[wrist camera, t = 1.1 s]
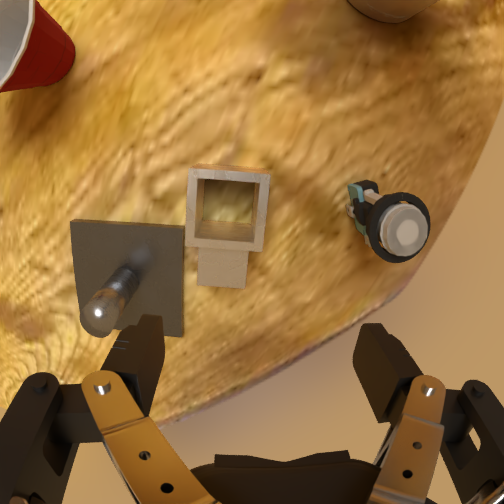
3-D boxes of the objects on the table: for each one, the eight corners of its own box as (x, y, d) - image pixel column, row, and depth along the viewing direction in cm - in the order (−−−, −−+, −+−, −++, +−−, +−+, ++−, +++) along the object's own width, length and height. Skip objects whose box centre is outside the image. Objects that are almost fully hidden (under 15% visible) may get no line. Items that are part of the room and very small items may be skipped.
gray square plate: (74, 219, 29) (26, 246, 21) (184, 225, 30) (164, 258, 21) (85, 319, 33) (52, 365, 25) (183, 332, 34) (169, 387, 25)
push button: (388, 235, 31) (439, 271, 22) (342, 249, 31) (381, 292, 22) (378, 173, 29) (433, 188, 20) (329, 185, 29) (369, 205, 20)
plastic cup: (4, 98, 24) (-70, 95, 13) (42, 12, 21) (-20, -19, 10) (69, 122, 26) (-8, 120, 15) (114, 26, 23) (58, -21, 12)
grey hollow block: (198, 163, 28) (188, 168, 22) (264, 168, 29) (270, 174, 23) (193, 261, 31) (184, 288, 26) (254, 266, 32) (257, 293, 26)
